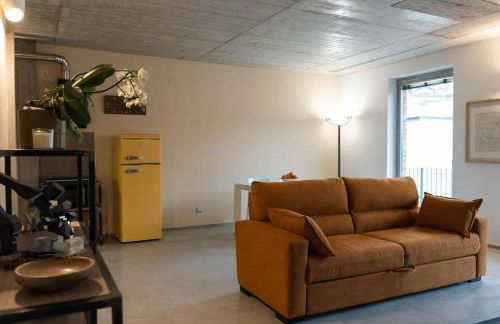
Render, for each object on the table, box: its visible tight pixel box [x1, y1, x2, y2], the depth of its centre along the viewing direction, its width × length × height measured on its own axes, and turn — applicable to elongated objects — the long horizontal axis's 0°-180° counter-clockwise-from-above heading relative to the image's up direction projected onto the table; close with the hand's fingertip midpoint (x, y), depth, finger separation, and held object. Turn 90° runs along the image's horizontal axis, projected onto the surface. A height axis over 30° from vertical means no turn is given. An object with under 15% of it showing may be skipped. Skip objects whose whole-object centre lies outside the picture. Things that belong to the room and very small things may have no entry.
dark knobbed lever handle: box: [51, 221, 71, 250], centre depth 170 cm, size 15×3×11 cm, turn 75°
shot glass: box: [57, 226, 75, 241], centre depth 190 cm, size 7×7×7 cm
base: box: [30, 236, 88, 256], centre depth 170 cm, size 21×12×6 cm, turn 75°
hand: (69, 236), depth 169 cm, fingers open, 4 cm apart
